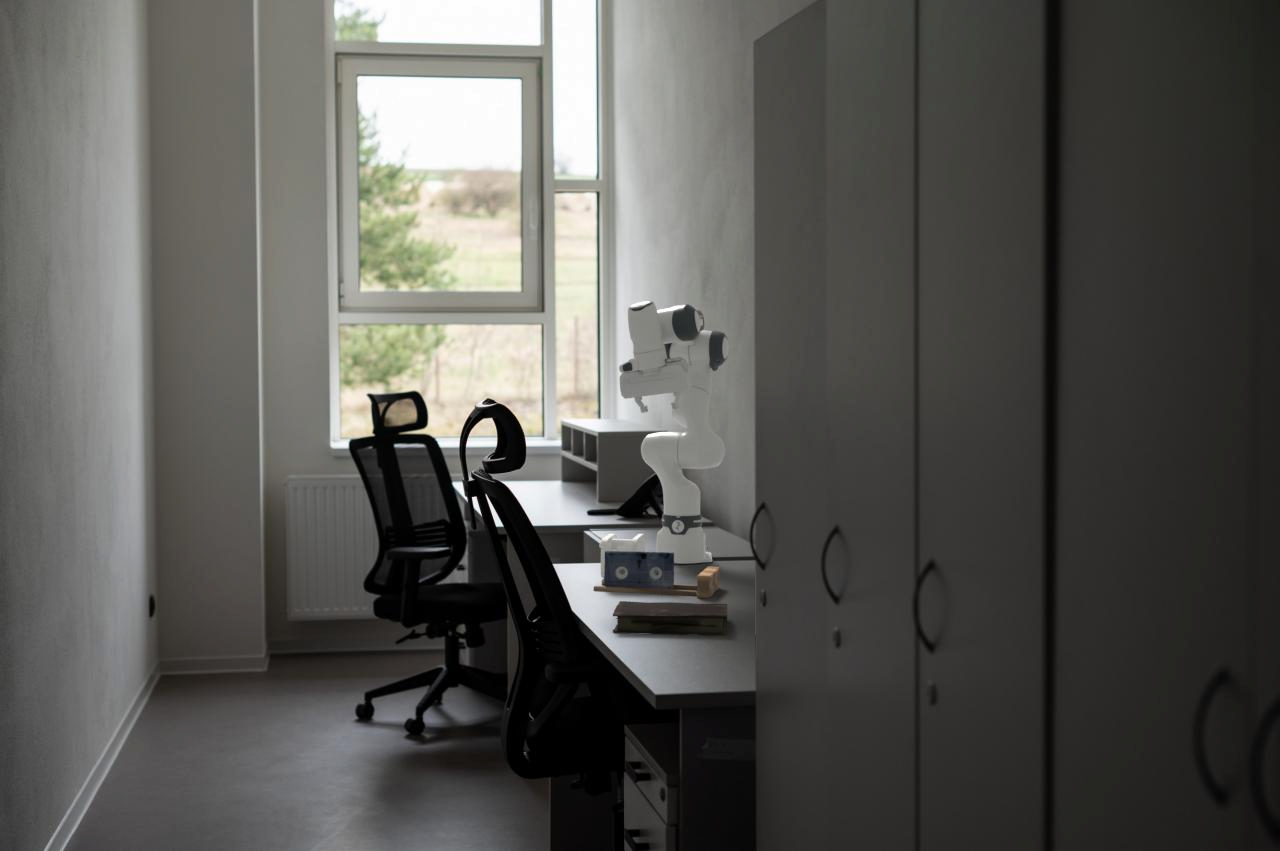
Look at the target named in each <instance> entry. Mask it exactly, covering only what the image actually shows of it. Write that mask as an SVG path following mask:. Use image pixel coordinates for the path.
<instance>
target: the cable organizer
mask: <svg viewBox="0 0 1280 851" xmlns="http://www.w3.org/2000/svg"><path fill="white" fill-rule="evenodd" d="M645 545H646V538H645V533H637V534H636V535H635V536H634V537H633V538H632V539H625V538H624V539H623V538H617V534H616V533H608V534H606V535H605V536H604V537H602V539H601V540H600V541H599V545H598V546H599V548H600V577H601V579H602V578H603V579H604V570H605V569H604V566H605V551H620V552H623V551H628V552H646V551H645V550H646V547H645Z"/></svg>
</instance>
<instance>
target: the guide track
mask: <svg viewBox="0 0 1280 851" xmlns="http://www.w3.org/2000/svg"><path fill="white" fill-rule="evenodd" d="M720 570H721V566H710V565H709V566H707V567H706V568H704V569H703V570H702V571H701V572H700V573H698V574H697V575H696V579H697V580H696V582H697V583H696V584H684V583H683V584H681V583H680V584H678V583H674V590H672V589H652V588H631V587H611V586H604V580H602V581H601V585H593V591H595V592H597V591H598V592H599V591H600V592H616V593H617V592H618V593H620V592H621V593H639V594H655V595H656V594H658V595H659V594H660V595H677V596H680V595H681V596H696V598H697V599H710V598H711V597H712V596H713V595H714V594H715V593H716V592H717V591H718V590H719V589H720Z"/></svg>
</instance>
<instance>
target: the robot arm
mask: <svg viewBox="0 0 1280 851" xmlns="http://www.w3.org/2000/svg"><path fill="white" fill-rule="evenodd" d="M627 324H628V332H629V337H630V340H631V342H632V344H633V345H632V346H633V349H632V350H633V352H632V353H633V358H631V359H629V360H627V361H626V362H623V363H622V364H620V365H619V366H618V368H619V369H618V370H619V372H620V373H621V374H620V376H619V390H620V396H621V397H623V399H625V400H626V399H633V398H634V403H636V405H637V406H638V407H639V408H640V413H641V414H645V413H648V412H649V408H648V405H645V404H644V403H643V401H642V400H643V397H648V396H656V395H664V394H671V393H672V395H673V397H674V398H673V402H671V403H670V404H671V416H672V418H673V420H674V422H676V424H678V425H679V426H680V427H682V428H683V429H686V430H685V431H660V432H659V431H658V432H653V433H649V434H646V436H645V437H644V439H643V441H642V442H641V445H640V455H641V458H642V459H643V461H644V462H645V464H646V465H648V466H649V467H650V468H651V469H652V470H653V471H654V472H655V474H656V475H657V477H658V479H659V481H660V484H661V488H662V494H663V495H662V496H663V513H662V514H661V515H662V516H661V526H662V528H661V529H660V530H659V531H657V535H656V546H655V549H656V550H655V552H669V553H671V552H673V553H674V564H683V565H684V564H685V565H686V564H699V563H712V562H713V556H712V552H711V551H710V552H709V551H708V549H709V547H708V545H706V533H705V532H704V531H703V528H702V525H703V517H702V514H701V490H700V487H699V486H698V485H697V484H696V483H694V482H693V481H692V480H689V479H687V477H686V476H684V472H683V469H685V470H687V469H691V470H707V469H711V468H717V467H719V466H720V464H721V463H722V462H723V461H724V458H725V454H726V447H725V443H724V441H723V440H722V438H721V437H720V436H719V435H718V434H716V433H715V432H714V431H713V430H712V428H711V426H710V423H709V410H710V405H711V404H710V403H711V399H712V392H713V391H712V390H713V375H712V372H715V371H718V369H719V367H721V366H722V365H723V364H724V363H725V362H726V360H727V359H728V355H729V351H730V345H729V341H728V336H727V335H726V333H725V332H722V331H720V330H712V331H711V330H705V329H704V328H705V319H704V314H703V312H702V311H701V310H699V309H697V308H696V307H695V306H692V305H690V304H689V303H687V304H678V305H673V306H671V307H668V308H662V309H658V308H657V306H656V304H655V302H654V301H651V300H643V301H638V302H635V303H633V304H631V305H630V306H629V307H628V309H627Z"/></svg>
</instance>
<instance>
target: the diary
mask: <svg viewBox="0 0 1280 851" xmlns="http://www.w3.org/2000/svg"><path fill="white" fill-rule="evenodd" d="M612 617H616V618H614V620H615V619H616V620H617V624H616V625H615V627H614V628H613V629H612V632H613V633H615V634H630V633H651V634H650V635H674V636H675V635H676V636H677V635H678V636H679V635H680V636H686V635H688V634H698V635H697V636H714V637H715V636H716V637H717V636H718V637H719V636H720V637H727V636H728V632H727V631H728V629H727V627H724V622H726V621H728V603H693V602H692V603H691V602H689V603H688V602H668V601H667V602H646V601H645V602H644V601H643V602H642V601H641V602H640V601H627V600H626V601H624V600H620V601H619V602H618V604H617V605H616V606H615V609H614V611H613V613H612Z"/></svg>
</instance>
